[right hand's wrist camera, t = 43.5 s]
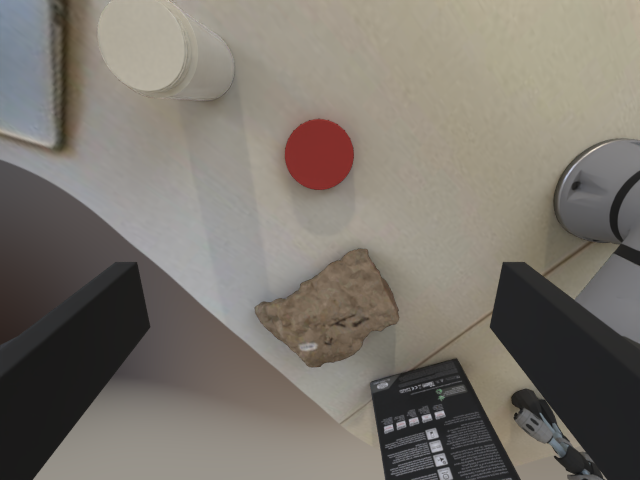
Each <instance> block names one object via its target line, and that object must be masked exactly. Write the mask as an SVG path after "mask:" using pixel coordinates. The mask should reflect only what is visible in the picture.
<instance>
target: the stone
mask: <svg viewBox="0 0 640 480" xmlns="http://www.w3.org/2000/svg"><path fill="white" fill-rule="evenodd" d="M398 311H399V310H398V307H397V305H396V303H395V300H394V296H393V293H392V291H391V289H390V288H389V285H388V284H387V282H386V281H385V280H384V279H383V278H382V277H381V275H380V272H379V270H378V269H376V267H375V265H374V263H373V262H372V261H371V259H370V258H369V256H368V250H367V249H357V250H353V251H350V252H348V253H347V254H346V255H344V257H343V258H342V259H341V260H338V261H335V262H332V263H330V264H329V265H328V266H327V267H326V268H325V269H324V270H323V271H322V272H320V273H319V274H318V275H317V276H315V277H314V278H313V279H310V280H308V281H305V282H303V283H301V284H300V289H299V290H298V291H295V292H294V293H293V294H292V295H290V296H288V297H287V298H286V299H282V298H279V299H276V300H274V301H273V302H261V303H260V304H259V305H257V306H256V307H255V314H256V315H257V317H258V318H259V320H260V322H261V323H262V324H263V325H264V327H265V328H266V329H267V330H269V331H270V332H271V333H272V334H273V335H274V336H275V337H276V338H277V339H279V340H281V341H283V342H284V343H285V344H286V345H287V346H289V348H290V349H291V350H292V351H293V352H295V353H296V354H297V355H298V356H299V357H300V358H301V359H302V360H303V361H304V362H305V363H306V365H307V366H309V367H321V365H322V364H324V363H327V362H335V361H340V360H343V359H346V358H348V357H350V356H352V355H354V354H355V353H356V352H357V351H358V350H359V349H360V348H361V346H362V343H363V340H364V339H365V337H367V335H368V334H369V333H370V332H371V331H382V330H383V329H384V328H386V327H388V326H390V325H394V324H396V323H397V322H398V320H399V315H398Z"/></svg>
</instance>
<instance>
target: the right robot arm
mask: <svg viewBox="0 0 640 480" xmlns="http://www.w3.org/2000/svg"><path fill="white" fill-rule="evenodd" d="M554 210H555V214H556V217H557V219H558V221H559V223H560V224H561V225H562V227H563V228H564V229H566V230H567V231H568V232H570V233H571V234H573V235H575V236H577V237H579V238H581V239H584V240H588V241H592V242H599V243H614V244H621V245H620V246H619V247H618V248H617V249H616V251H615V252H614V253H613V254H612V255H611V256H610V258H609V259H608V260H607V261H606V262H605V264H604V265H603V266H602V267H601V268H600V270H599V271H598V272H597V273H596V275H595V276H594V277H593V278H592V279H591V281H590V282H589V283H588V284H587V285H586V287H585V288H584V289H583V290H582V291H581V293H580V294H579V295H578V296H577V297H576V299H575V300H574V299H572V298H571V297H570V296H568V295H567V294H566V293H564V292H563V291H562V290H560V289H559V288H558V287H556V286H555V285H554V284H553V283H551V282H550V281H549V280H547V279H546V278H545V277H543V276H542V275H541V274H539V273H538V272H537V271H535V270H534V269H533V268H531V267H530V266H529V265H527V264H526V263H525V262H503V265H502V270H501V274H500V279H499V284H498V289H497V294H496V299H495V304H494V309H493V314H492V318H491V323H490V328H491V329H492V331H493V332H494V333H495V335H496V336H497V337H498V339H499V340H500V341H501V342H502V344H503V345H504V346H505V348H506V349H507V350H508V352H509V353H510V354H511V355H512V357H513V358H514V359H515V361H516V362H517V363H518V365H519V366H520V367H521V368H522V370H523V371H524V372H525V374H526V375H527V376H528V377H529V379H530V380H531V381H532V383H533V384H534V385H535V387H536V388H537V389H538V390H539V392H540V393H541V394H542V396H543V397H544V398H545V400H546V401H547V402H548V403H549V405H550V406H551V407H552V409H553V410H554V411H555V412H556V414H557V415H558V416H559V418H560V419H561V420H562V422H563V423H564V424H565V425H566V427H567V428H568V429H569V431H570V432H571V433H572V435H573V436H574V437H575V438H576V440H577V441H578V442H579V444H580V445H581V446H582V447H583V449H584V450H585V451H586V453H587V454H588V455H589V457H590V458H591V459H592V460H593V462H594V463H595V464H596V466H597V467H598V468H599V470H600V471H601V472H602V473H603V475H604V476H605V477H606V479H607V480H640V140H634V139H611V140H607V141H604V142H601V143H598V144H596V145H594V146H592V147H590V148H588V149H587V150H585V151H584V152H582V153H581V154H580V155H578V156H577V157H576V158H575V159H574V160H573V161H572V162H571V163H570V164H569V166H568V167H567V168H566V169H565V171H564V172H563V174H562V176H561V178H560V180H559V182H558V184H557V187H556V190H555V195H554ZM624 258H625V259H624ZM626 259H627V260H626ZM628 260H629V261H628ZM630 261H631V262H630ZM632 262H633V263H632ZM634 263H635V264H634ZM636 264H637V265H636ZM638 265H639V266H638ZM149 328H150V323H149V319H148V314H147V309H146V304H145V299H144V294H143V289H142V284H141V279H140V274H139V270H138V265H137V262H115V263H114V264H113V265H111V266H110V267H109V268H107V269H106V270H105V271H103V272H102V273H101V274H99V275H98V276H97V277H95V278H94V279H93V280H91V281H90V282H89V283H88V284H86V285H85V286H84V287H82V288H81V289H80V290H78V291H77V292H76V293H74V294H73V295H72V296H70V297H69V298H68V299H66V300H65V301H64V302H63V303H61V304H60V305H59V306H57V307H56V308H55V309H53V310H52V311H51V312H49V313H48V314H47V315H45V316H44V317H43V318H41V319H40V320H39V321H37V322H36V323H35V324H34V325H32V326H31V327H30V328H28V329H27V330H26V331H24V332H23V333H22V334H20V335H19V336H18V337H16V338H14V339H12V340H10V341H8V342H6V343H4V344H2V345H0V480H33V479H34V477H35V476H36V475H37V473H38V472H39V471H40V470H41V468H42V467H43V466H44V464H45V463H46V462H47V460H48V459H49V458H50V457H51V455H52V454H53V453H54V451H55V450H56V449H57V447H58V446H59V445H60V444H61V442H62V441H63V440H64V438H65V437H66V436H67V435H68V433H69V432H70V431H71V429H72V428H73V427H74V425H75V424H76V423H77V422H78V420H79V419H80V418H81V416H82V415H83V414H84V412H85V411H86V410H87V409H88V407H89V406H90V405H91V403H92V402H93V401H94V399H95V398H96V397H97V396H98V394H99V393H100V392H101V390H102V389H103V388H104V387H105V385H106V384H107V383H108V381H109V380H110V379H111V377H112V376H113V375H114V374H115V372H116V371H117V370H118V368H119V367H120V366H121V364H122V363H123V362H124V361H125V359H126V358H127V357H128V355H129V354H130V353H131V352H132V350H133V349H134V348H135V346H136V345H137V344H138V342H139V341H140V340H141V339H142V337H143V336H144V335H145V333H146V332H147V331H148V329H149Z"/></svg>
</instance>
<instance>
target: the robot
mask: <svg viewBox="0 0 640 480" xmlns="http://www.w3.org/2000/svg"><path fill="white" fill-rule="evenodd" d="M512 404H513V405H515V406H516V407H518V408H520V411H519V413H518V414H517V413H515V414H514V420H515V421H516V422H517V424H518V425H519V426H520V427H521V428H522V429H523V430H524V431H525V432H526V433H528V434H529V435H530V436H531V437H533V438H535V439H536V440H537V441H540V442H542V443H549V444H550V445H551V446H552V447H553V449H554V451H555V452H556V453H557V454H558V455H559V456H560V458H558V457H556V456H554V458H555V459H556V460H557V461H558V462H559V463H560V464H561V465H563V466H564V467H565V468H566V470H567V471H569V472H571V473H573V474H575V475H567V477H568V479H569V480H605V479H603V476H602V474H601V472H600V470H599V468H598V467H597V466H596V464H595V463H594V462H593V460H592V459H591V458H590V457H589V455H588V454H587V453H586V452H578V451H577V450H576V449H574V448H573V446H572V445H571V443H570V441H569V440H568V439H567V438H566V437H565V436H564V435H563V434H562V432H561V430H560V429H559V427H558V425H557V422H556V419H555V416H554V414H553V412H552V410H551V408H550V407H549V405H548V404H547V402H546V401H545V400H538V398H537V397H536V395H535V394H534V392H533V391H531V390H528V389H524V390H521V391H518V392H516V393H515V394H514V395H513V396H512Z"/></svg>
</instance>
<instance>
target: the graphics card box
mask: <svg viewBox="0 0 640 480" xmlns="http://www.w3.org/2000/svg"><path fill="white" fill-rule="evenodd" d="M370 387H371V394H372V400H373V406H374V412H375V418H376V425H377V430H378V436H379V443H380V448H381V455H382V461H383V468H384V474H385V480H521V479H520V477H519V475H518V474H517V472H516V470H515V468H514V466H513V464H512V462H511V460H510V459H509V457H508V455H507V453H506V451H505V449H504V447H503V445H502V443H501V441H500V440H499V438H498V436H497V434H496V432H495V430H494V428H493V426H492V424H491V423H490V421H489V419H488V417H487V415H486V413H485V411H484V409H483V407H482V405H481V403H480V401H479V399H478V397H477V395H476V393H475V391H474V389H473V387H472V385H471V383H470V381H469V380H468V378H467V376H466V374H465V372H464V370H463V368H462V367H461V365H460V363H459V361H458V359H457V358H456V359H452V360H449V361H445V362H441V363H438V364H434V365H431V366H427V367H424V368H420V369H416V370H413V371H409V372H405V373H402V374H398V375H394V376H391V377H387V378H384V379H380V380H376V381H373V382H371V383H370Z"/></svg>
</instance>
